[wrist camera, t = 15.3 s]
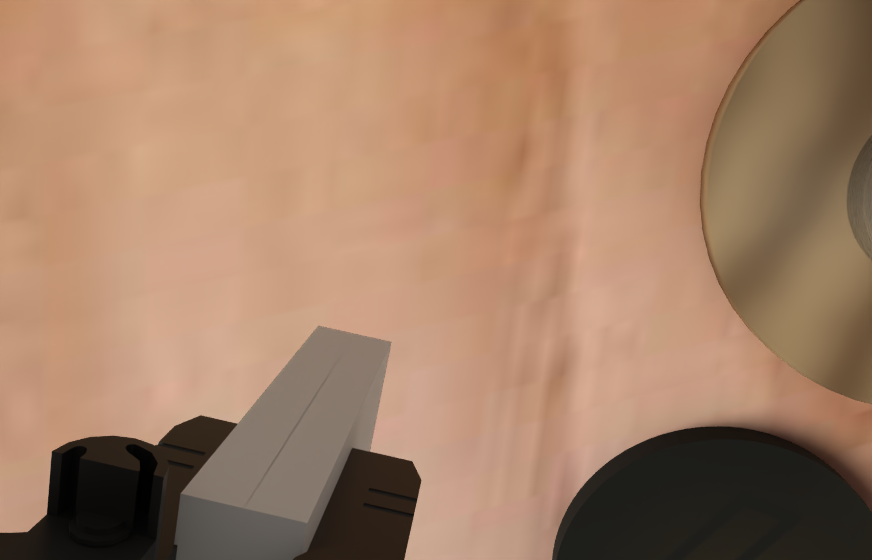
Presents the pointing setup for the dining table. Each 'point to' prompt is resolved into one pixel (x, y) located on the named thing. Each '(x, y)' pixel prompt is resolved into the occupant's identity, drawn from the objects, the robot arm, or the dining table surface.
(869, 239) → the cover
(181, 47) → the dining table surface
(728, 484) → the wireless charger
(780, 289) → the turntable
